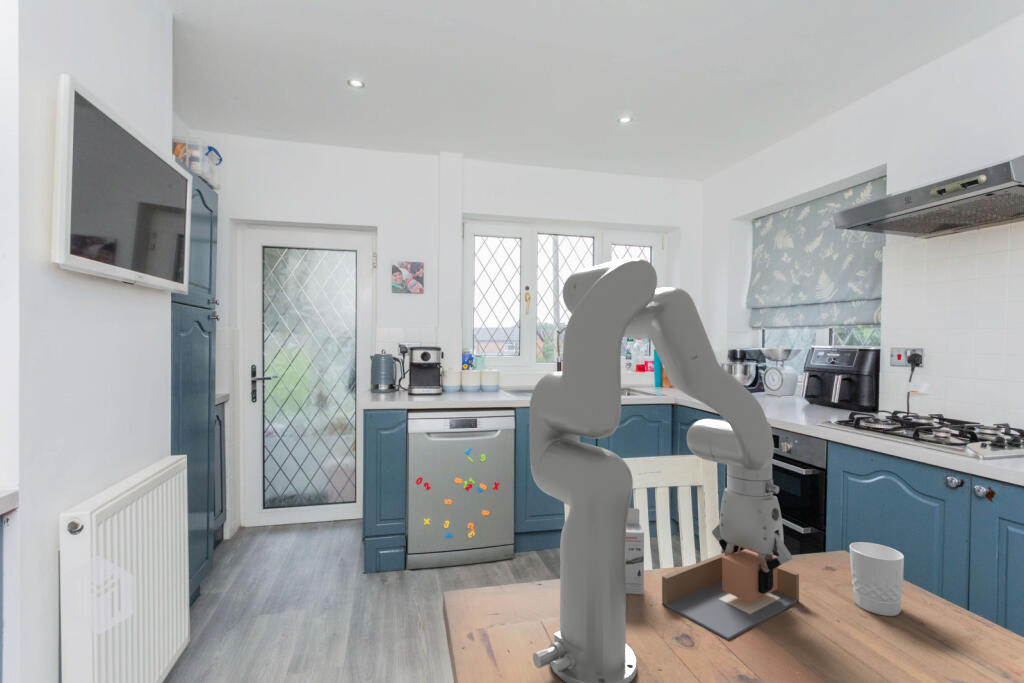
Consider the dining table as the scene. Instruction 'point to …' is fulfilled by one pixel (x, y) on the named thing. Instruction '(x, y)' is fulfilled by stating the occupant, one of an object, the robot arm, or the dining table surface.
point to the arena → (724, 598)
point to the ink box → (634, 554)
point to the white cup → (877, 577)
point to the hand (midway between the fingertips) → (749, 583)
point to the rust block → (743, 575)
